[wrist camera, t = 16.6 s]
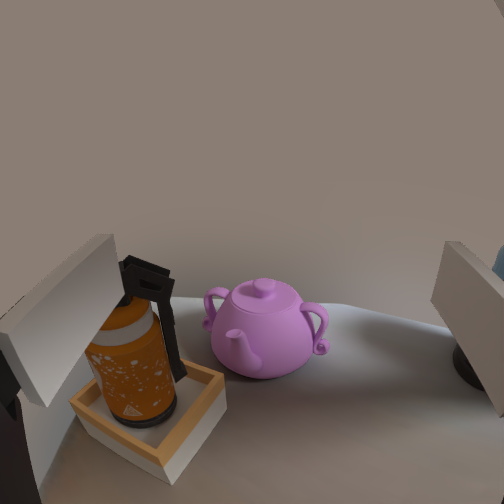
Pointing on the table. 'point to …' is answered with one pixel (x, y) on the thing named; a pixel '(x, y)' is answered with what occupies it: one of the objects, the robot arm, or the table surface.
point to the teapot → (264, 328)
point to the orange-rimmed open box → (165, 434)
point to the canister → (138, 349)
